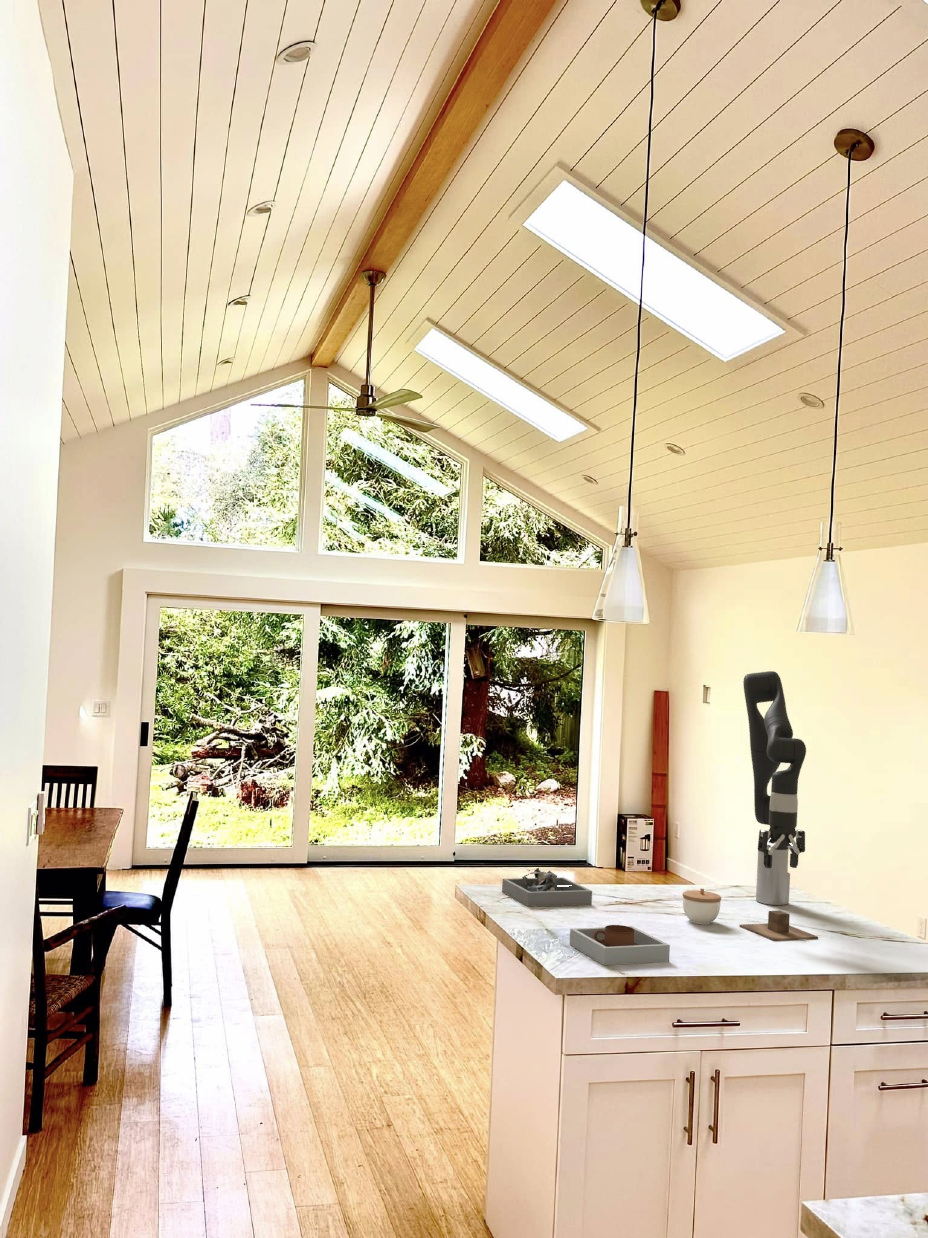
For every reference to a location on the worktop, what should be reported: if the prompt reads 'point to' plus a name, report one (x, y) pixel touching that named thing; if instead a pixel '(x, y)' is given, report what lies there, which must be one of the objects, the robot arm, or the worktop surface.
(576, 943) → the grey square tray
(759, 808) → the robot arm
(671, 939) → the worktop surface
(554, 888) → the foil
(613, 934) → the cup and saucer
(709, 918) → the lidded jar
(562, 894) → the foil frame
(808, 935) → the walnut lid
